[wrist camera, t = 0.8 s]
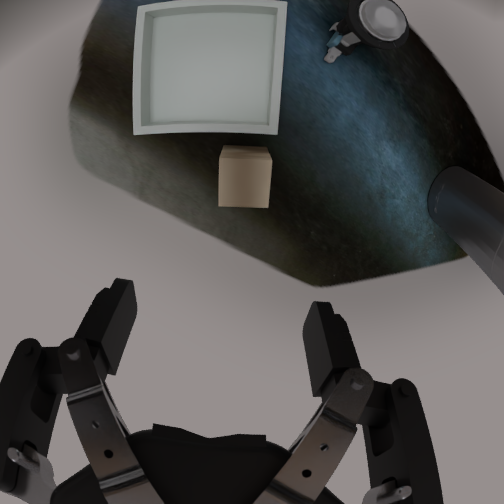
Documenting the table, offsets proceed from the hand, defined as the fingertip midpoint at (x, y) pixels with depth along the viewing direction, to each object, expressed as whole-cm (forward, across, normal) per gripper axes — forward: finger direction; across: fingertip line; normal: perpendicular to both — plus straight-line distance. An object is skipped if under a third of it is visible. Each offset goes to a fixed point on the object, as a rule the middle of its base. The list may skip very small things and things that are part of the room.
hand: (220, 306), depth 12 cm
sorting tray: (+20, +4, -11) cm, 24 cm away
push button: (+21, -8, -17) cm, 28 cm away
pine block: (+20, -1, -1) cm, 21 cm away
